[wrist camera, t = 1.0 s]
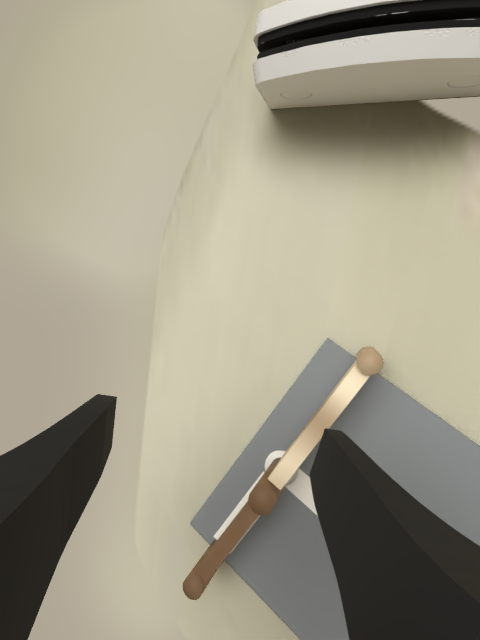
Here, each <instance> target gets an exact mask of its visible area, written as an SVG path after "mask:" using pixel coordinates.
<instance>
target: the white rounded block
mask: <svg viewBox="0 0 480 640" xmlns="http://www.w3.org/2000/svg"><path fill="white" fill-rule="evenodd" d="M254 42H255V44H256V47H257V49H258V51H259V54H258V56H257V60H256V61H254V62H253V71H254V77H255V84H256V87H257V89H258V90H259V92H260V94H261V95H262V97H263V98H264V100H265V101H266V103H267V104H268V106H269V108H270V109H280V108H296V107H312V106H328V105H344V104H360V103H376V102H392V101H408V100H432V99H448V98H464V97H480V0H288V1H285V2H282V3H280V4H277V5H275V6H272V7H270V8H267V9H265V10H263V11H261V12H260V13H259V14H258V18H257V24H256V29H255V35H254Z"/></svg>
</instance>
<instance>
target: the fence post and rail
mask: <svg viewBox="0 0 480 640" xmlns="http://www.w3.org/2000/svg"><path fill="white" fill-rule="evenodd" d="M280 459H281V457H279V458H276V459H274V460H273V462H272V463H271V464H270V466H269V467H268V469H267V470H266V471H265V473H264V474H263V476H262V477H261V478H260V480H259V481H258V483H257V484H256V485H255V487H254V488H253V490H252V491H251V493H250V494H249V497H248V501H247V502H246V504H245V505H244V506H243V507H242V509H241V510H240V511H239V513H238V514H237V515H236V517H235V518H234V519H233V520H232V522H231V523H230V524H229V526H228V527H227V528H226V530H225V531H224V532H223V533H222V535H221V536H220V537H219V539H218V540H214V541H213V542H212V543H211V545H210V546H209V548H208V549H207V550H206V552H205V553H204V554H203V556H202V557H201V559H200V560H199V561H198V563H197V564H196V565H195V567H194V568H193V570H192V571H191V572H190V574H189V575H188V576H187V578H186V579H185V581H184V582H183V591H184V593H185V595H186V596H187V597H188V598H189V599H192V600H197V599H198V598H200V596H201V594H202V593H203V591H204V590H205V588H206V586H207V585H208V583H209V582H210V580H211V578H212V577H213V575H214V573H215V572H216V570H217V569H218V567H219V566H220V565H221V563H222V562H223V561H224V560H225V558H226V557H227V556H228V555H229V553H230V552H231V551H232V549H233V548H234V547H235V546H236V544H237V543H238V542H239V540H240V539H241V538H242V537H243V535H244V534H245V533H246V532H247V530H248V529H249V528H250V526H251V525H252V524H253V523H254V521H255V520H256V519H257V518H258V516H259V515H261V516H265V515H268V514H270V513H271V511H272V510H273V508H274V506H275V504H276V502H277V500H278V498H279V496H280V494H281V492H282V490H283V488H284V487H285V485H286V484H285V485H284V487H283V488H282V489H281V490H279V489H278V488H277V487H276V486H275V485H274V484H273V483H272V482H271V481H269V480H268V477H269V476H270V474H271V473H272V471H273V470H274V468H275V466H276V465H277V463H278V462H279V460H280Z"/></svg>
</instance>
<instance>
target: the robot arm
mask: <svg viewBox="0 0 480 640" xmlns="http://www.w3.org/2000/svg"><path fill="white" fill-rule="evenodd" d="M116 399H117V397H114V396H106V395H100V394H97V395H96V396H94V397H93V398H91V399H90V400H89V401H87V402H86V403H84V404H83V405H82V406H80V407H79V408H77V409H76V410H75V411H73V412H72V413H70V414H69V415H68V416H66V417H64V418H63V419H62V420H60V421H58V422H57V423H56V424H54V425H53V426H51V427H50V428H48V429H46V430H45V431H43V432H42V433H40V434H39V435H37V436H35V437H33V438H32V439H30V440H28V441H27V442H25V443H24V444H22V445H20V446H18V447H16V448H15V449H13V450H11V451H9V452H7V453H5V454H3V455H1V456H0V640H27V639H28V637H29V634H30V632H31V629H32V627H33V624H34V622H35V619H36V616H37V614H38V611H39V609H40V606H41V604H42V601H43V599H44V596H45V594H46V591H47V589H48V586H49V583H50V581H51V579H52V576H53V574H54V571H55V569H56V566H57V564H58V561H59V559H60V557H61V555H62V553H63V551H64V548H65V546H66V544H67V542H68V540H69V538H70V536H71V534H72V532H73V530H74V528H75V526H76V524H77V523H78V521H79V519H80V517H81V515H82V513H83V511H84V509H85V507H86V505H87V503H88V501H89V499H90V497H91V495H92V493H93V491H94V489H95V487H96V485H97V483H98V481H99V479H100V477H101V475H102V472H103V469H104V467H105V464H106V461H107V459H108V456H109V453H110V451H111V448H112V438H113V428H114V419H115V409H116ZM310 481H311V488H312V494H313V499H314V504H315V508H316V511H317V515H318V518H319V522H320V525H321V528H322V532H323V535H324V538H325V542H326V545H327V548H328V551H329V555H330V558H331V561H332V565H333V568H334V571H335V575H336V579H337V583H338V586H339V591H340V596H341V600H342V605H343V610H344V615H345V620H346V625H347V630H348V636H349V640H480V546H479V545H477V544H476V543H474V542H473V541H471V540H470V539H468V538H467V537H465V536H464V535H463V534H461V533H460V532H458V531H457V530H455V529H454V528H453V527H451V526H450V525H448V524H447V523H446V522H444V521H443V520H442V519H440V518H439V517H438V516H436V515H435V514H434V513H433V512H431V511H430V510H429V509H427V508H426V507H425V506H424V505H422V504H421V503H420V502H419V501H417V500H416V499H415V498H414V497H413V496H411V495H410V494H409V493H408V492H407V491H406V490H405V489H403V488H402V487H401V486H400V485H399V484H398V483H397V482H395V481H394V480H393V479H392V478H391V477H390V476H389V475H388V474H387V473H386V472H385V471H384V470H383V469H381V468H380V467H379V466H378V465H377V464H376V463H375V462H374V461H373V460H372V459H371V458H370V457H369V456H368V455H367V454H366V453H365V452H364V451H363V450H362V449H361V448H360V447H359V446H358V445H357V444H356V443H355V442H353V441H352V440H351V439H350V438H349V437H348V436H347V435H346V434H345V433H344V432H342V431H340V430H333V429H326V428H325V429H324V432H323V435H322V438H321V441H320V444H319V447H318V450H317V453H316V456H315V459H314V462H313V465H312V468H311V471H310Z"/></svg>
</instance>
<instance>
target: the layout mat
mask: <svg viewBox="0 0 480 640" xmlns="http://www.w3.org/2000/svg"><path fill="white" fill-rule="evenodd" d="M356 359H357V358H355V357H354V356H352V355H351V354H350V353H348V352H347V351H345V350H344V349H343V348H341V347H340V346H338V345H337V344H336V343H334V342H333V341H331V340H330V339H329V338H327V339H326V341H325V342H324V343H323V345H322V346H321V348H320V349H319V350H318V352H317V353H316V354H315V356H314V357H313V358H312V360H311V361H310V362H309V364H308V365H307V366H306V368H305V369H304V370H303V372H302V373H301V374H300V376H299V377H298V378H297V380H296V381H295V383H294V384H293V385H292V387H291V388H290V389H289V391H288V392H287V393H286V395H285V396H284V397H283V399H282V400H281V401H280V403H279V404H278V405H277V407H276V408H275V409H274V411H273V412H272V413H271V415H270V416H269V417H268V419H267V420H266V422H265V423H264V424H263V426H262V427H261V428H260V430H259V431H258V432H257V434H256V435H255V436H254V438H253V439H252V440H251V442H250V443H249V444H248V446H247V447H246V448H245V450H244V451H243V452H242V454H241V455H240V457H239V458H238V459H237V461H236V462H235V463H234V465H233V466H232V467H231V469H230V470H229V471H228V473H227V474H226V475H225V477H224V478H223V479H222V481H221V482H220V483H219V485H218V486H217V487H216V489H215V490H214V491H213V493H212V494H211V496H210V497H209V498H208V500H207V501H206V502H205V504H204V505H203V506H202V508H201V509H200V510H199V512H198V513H197V514H196V516H195V517H194V518H193V520H192V521H191V522H190V524H191V525H192V527H193V528H194V529H195V530H196V531H197V532H198V533H199V534H200V535H201V536H202V537H203V538H204V539H205V540H206V541H207V542H208V543H209V544H210V545H211V543H212V542H213V541H214V540H218V539H219V537H220V536H221V535H222V533H223V532H224V531H225V530H226V528H227V527H228V526H229V524H230V523H231V522H232V520H233V519H234V518H235V517H236V515H237V514H238V513H239V511H240V510H241V509H242V507H243V506H244V505H245V504H246V502H247V501H248V497H249V494H250V493H251V491H252V490H253V488H254V487H255V485H256V484H257V483H258V481H259V480H260V478H261V477H262V476H263V474H264V473H265V471H266V470H267V469H268V467H269V466H270V464H271V463H272V462H273V460H274V459H276V458H279V457H282V456H283V454H284V453H285V452H286V450H287V449H288V448H289V446H290V445H291V444H292V443H293V441H294V440H295V439H296V437H297V436H298V435H299V433H300V432H301V431H302V430H303V428H304V427H305V426H306V424H307V423H308V422H309V420H310V419H311V418H312V417H313V415H314V414H315V413H316V411H317V410H318V409H319V407H320V406H321V405H322V404H323V402H324V401H325V400H326V398H327V397H328V396H329V394H330V393H331V392H332V391H333V389H334V388H335V387H336V385H337V384H338V383H339V381H340V380H341V379H342V378H343V376H344V375H345V374H346V372H347V371H348V370H349V368H350V367H351V366H352V365H353V363H354V362H355V361H356ZM329 429H333V430H340V431H342V432H344V433H345V434H346V435H347V436H348V437H349V438H350V439H351V440H352V441H353V442H355V443H356V444H357V445H358V446H359V447H360V448H361V449H362V450H363V451H364V452H365V453H366V454H367V455H368V456H369V457H370V458H371V459H372V460H373V461H374V462H375V463H376V464H377V465H378V466H379V467H380V468H381V469H383V470H384V471H385V472H386V473H387V474H388V475H389V476H390V477H391V478H392V479H393V480H394V481H395V482H397V483H398V484H399V485H400V486H401V487H402V488H403V489H405V490H406V491H407V492H408V493H409V494H410V495H411V496H413V497H414V498H415V499H416V500H417V501H419V502H420V503H421V504H422V505H424V506H425V507H426V508H427V509H429V510H430V511H431V512H433V513H434V514H435V515H436V516H438V517H439V518H440V519H442V520H443V521H444V522H446V523H447V524H448V525H450V526H451V527H453V528H454V529H455V530H457V531H458V532H460V533H461V534H463V535H464V536H465V537H467V538H468V539H470V540H471V541H473V542H474V543H476V544H477V545H479V546H480V446H479V445H477V444H476V443H475V442H473V441H472V440H470V439H469V438H468V437H466V436H465V435H463V434H462V433H461V432H459V431H458V430H456V429H455V428H454V427H452V426H451V425H449V424H448V423H447V422H445V421H444V420H442V419H441V418H440V417H438V416H437V415H435V414H434V413H433V412H431V411H430V410H428V409H427V408H425V407H424V406H423V405H421V404H420V403H418V402H417V401H416V400H414V399H413V398H411V397H410V396H409V395H407V394H406V393H404V392H403V391H402V390H400V389H399V388H397V387H396V386H395V385H393V384H392V383H390V382H389V381H388V380H386V379H385V378H383V377H382V376H381V375H379V374H378V373H377V374H374V375H371V376H370V377H369V378H368V380H367V381H366V382H365V383H364V385H363V386H362V387H361V388H360V390H359V391H358V392H357V394H356V395H355V396H354V397H353V399H352V400H351V401H350V402H349V404H348V405H347V406H346V408H345V409H344V410H343V411H342V413H341V414H340V415H339V417H338V418H337V419H336V420H335V422H334V423H333V424H332V425H331V427H330V428H329ZM320 441H321V439H320ZM320 441H319V442H318V443H317V445H316V446H315V447H314V448H313V450H312V451H311V452H310V453H309V455H308V456H307V457H306V459H305V460H304V461H303V462H302V464H301V465H300V466H299V467H298V469H297V470H296V471H295V473H294V474H293V475H292V476H291V478H290V479H289V480H288V481H287V483H286V485H285V487H284V488H283V490H282V492H281V494H280V496H279V498H278V500H277V502H276V504H275V506H274V508H273V510H272V511H271V513H270V514H268V515H265V516H261V515H259V516H258V518H257V519H256V520H255V521H254V523H253V524H252V525H251V526H250V528H249V529H248V530H247V532H246V533H245V534H244V535H243V537H242V538H241V539H240V540H239V542H238V543H237V544H236V546H235V547H234V548H233V549H232V551H231V552H230V553H229V555H228V556H227V557H226V558H225V561H226V562H227V563H228V564H229V565H230V566H231V567H232V568H233V570H234V571H235V572H236V573H237V574H238V575H239V576H240V577H241V578H242V579H243V580H244V581H245V582H246V583H247V584H248V585H249V586H250V587H251V588H252V589H253V590H254V592H255V593H256V594H257V595H258V596H259V597H260V598H261V599H262V600H263V601H264V602H265V603H266V604H267V605H268V606H269V607H270V608H271V609H272V610H273V611H274V612H275V614H276V615H277V616H278V617H279V618H280V619H281V620H282V621H283V622H284V623H285V624H286V625H287V626H288V627H289V628H290V629H291V630H292V631H293V632H294V633H295V635H296V636H297V637H298V638H299V639H300V640H349V636H348V630H347V625H346V620H345V615H344V610H343V605H342V600H341V596H340V591H339V586H338V583H337V579H336V575H335V571H334V568H333V565H332V561H331V558H330V555H329V551H328V548H327V545H326V542H325V538H324V535H323V532H322V528H321V525H320V522H319V518H318V515H317V511H316V508H315V504H314V499H313V494H312V488H311V481H310V471H311V468H312V465H313V462H314V459H315V456H316V453H317V450H318V447H319V444H320Z"/></svg>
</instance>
